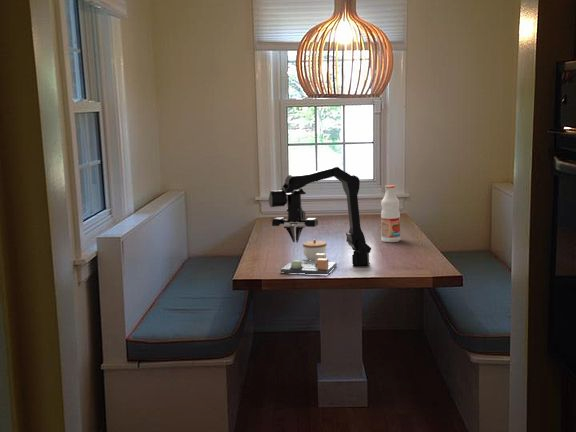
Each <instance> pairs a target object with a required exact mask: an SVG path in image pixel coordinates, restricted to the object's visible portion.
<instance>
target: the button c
mask: <svg viewBox="0 0 576 432" xmlns="http://www.w3.org/2000/svg"><path fill="white" fill-rule="evenodd" d="M302 261H303V260H301V259H292V260H291V261H290V262H291V268H292V269H301V268H302Z"/></svg>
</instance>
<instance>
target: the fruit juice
mask: <svg viewBox="0 0 576 432" xmlns="http://www.w3.org/2000/svg"><path fill="white" fill-rule="evenodd" d="M384 189H385V193H384V196H383V198H382V199H381V201H380V205H381V213H380V223H381V224H380V231H381V232H380V233H381V234H380V235H381V237H380V238H381V242H384V243H397V242H400V241H401V212H400V200H399V198H398V197H397V195H396V192H395V191H396V186H395V184H394V185H393V184H386V185H384Z"/></svg>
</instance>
